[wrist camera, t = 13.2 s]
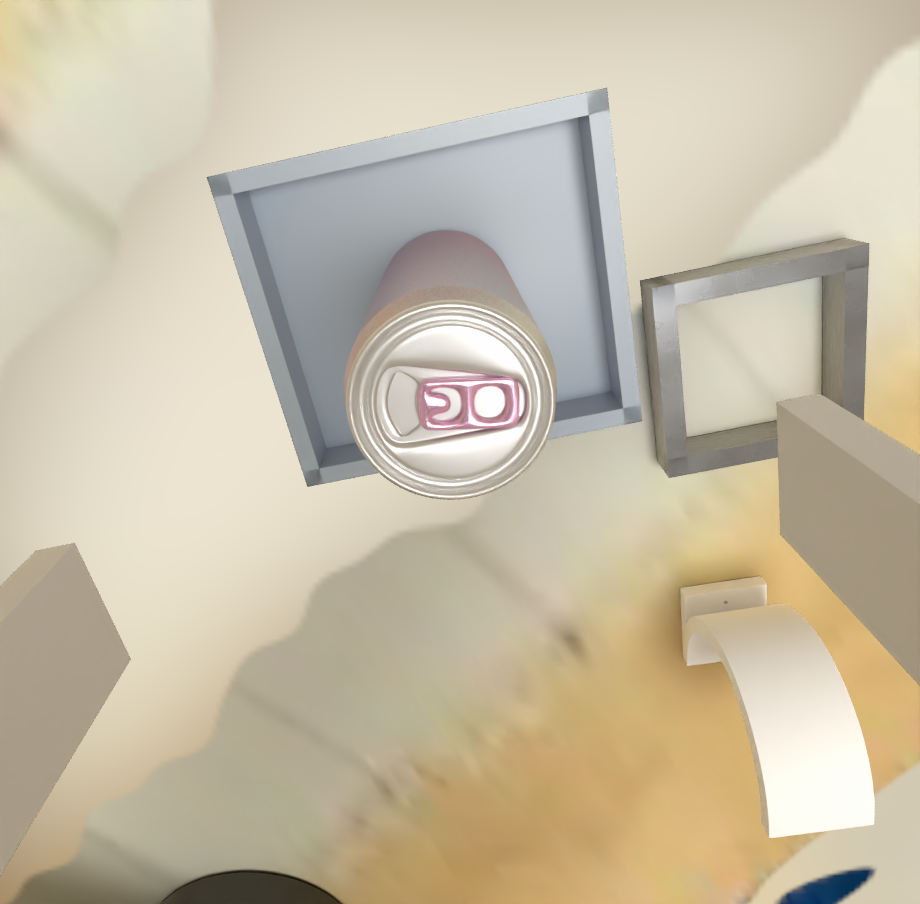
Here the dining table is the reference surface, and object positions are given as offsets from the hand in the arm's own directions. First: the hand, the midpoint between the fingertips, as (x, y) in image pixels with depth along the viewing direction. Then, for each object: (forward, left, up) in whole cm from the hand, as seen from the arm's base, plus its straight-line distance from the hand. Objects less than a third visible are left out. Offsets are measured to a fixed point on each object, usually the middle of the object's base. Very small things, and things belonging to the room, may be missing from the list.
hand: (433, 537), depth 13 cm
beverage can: (+1, 0, -21) cm, 21 cm away
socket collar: (+14, -6, -22) cm, 27 cm away
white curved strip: (+12, -21, -22) cm, 33 cm away
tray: (0, 0, -22) cm, 22 cm away
